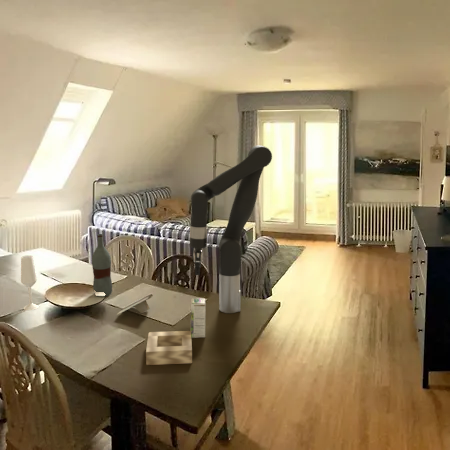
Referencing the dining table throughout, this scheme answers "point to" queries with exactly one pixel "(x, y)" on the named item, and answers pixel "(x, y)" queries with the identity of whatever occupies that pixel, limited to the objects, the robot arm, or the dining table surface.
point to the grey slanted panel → (139, 304)
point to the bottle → (102, 268)
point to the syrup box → (197, 317)
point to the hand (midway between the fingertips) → (197, 272)
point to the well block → (169, 348)
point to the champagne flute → (28, 278)
